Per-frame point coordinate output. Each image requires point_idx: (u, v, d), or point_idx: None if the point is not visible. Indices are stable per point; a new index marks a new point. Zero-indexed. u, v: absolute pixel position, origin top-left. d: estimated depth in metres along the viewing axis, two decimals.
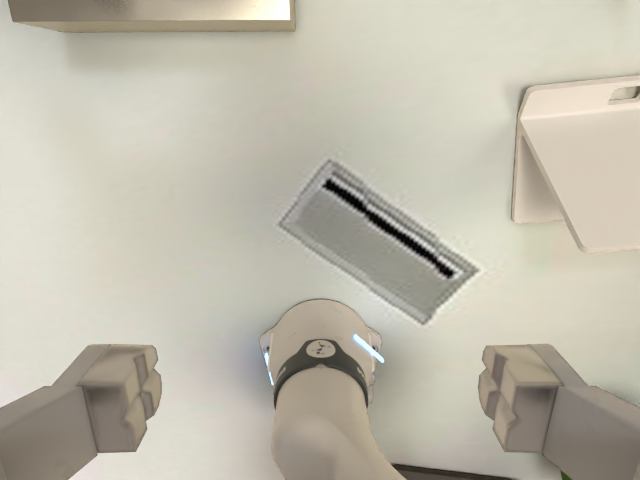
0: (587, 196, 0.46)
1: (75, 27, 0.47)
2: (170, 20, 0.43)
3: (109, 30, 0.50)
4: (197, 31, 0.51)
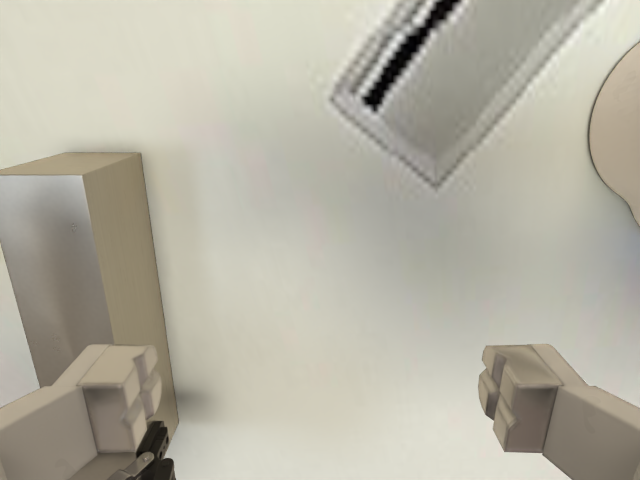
0: None
1: None
2: (114, 341, 0.30)
3: (166, 383, 0.41)
4: (158, 283, 0.39)
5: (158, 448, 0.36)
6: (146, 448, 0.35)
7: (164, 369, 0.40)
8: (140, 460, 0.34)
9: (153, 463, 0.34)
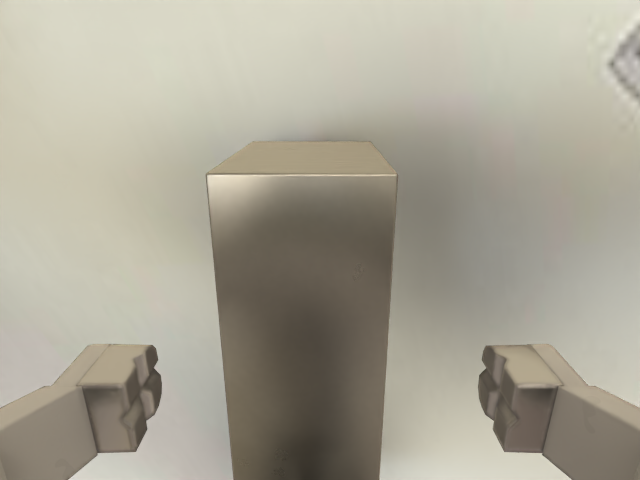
0: None
1: None
2: (378, 460, 0.18)
3: None
4: None
5: None
6: None
7: None
8: None
9: None
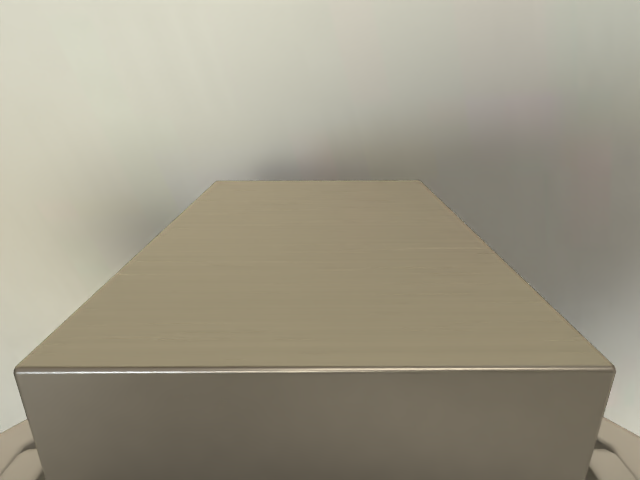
0: None
1: None
2: None
3: None
4: None
5: None
6: None
7: None
8: None
9: None
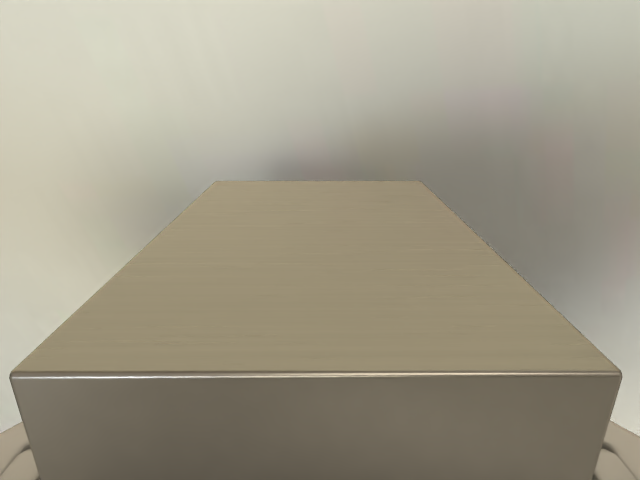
0: None
1: None
2: None
3: None
4: None
5: None
6: None
7: None
8: None
9: None
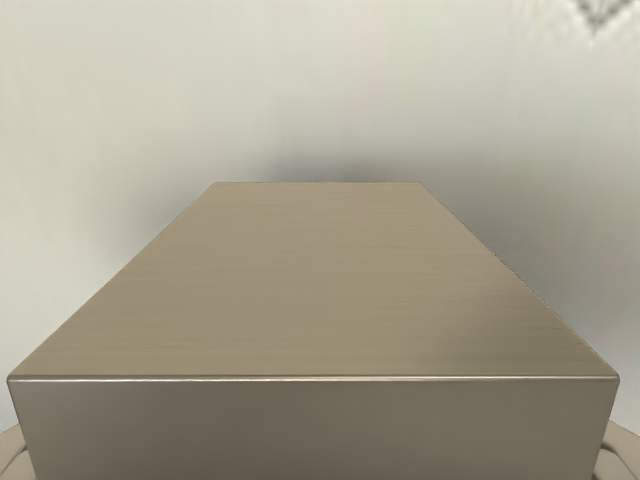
0: None
1: None
2: None
3: None
4: None
5: None
6: None
7: None
8: None
9: None
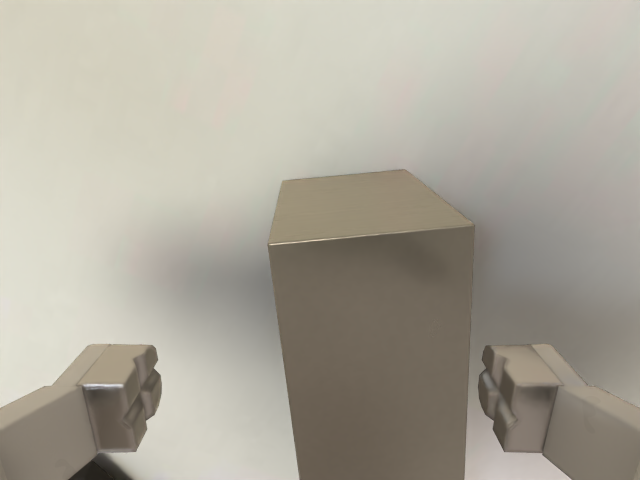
0: None
1: None
2: None
3: None
4: None
5: None
6: None
7: None
8: None
9: None
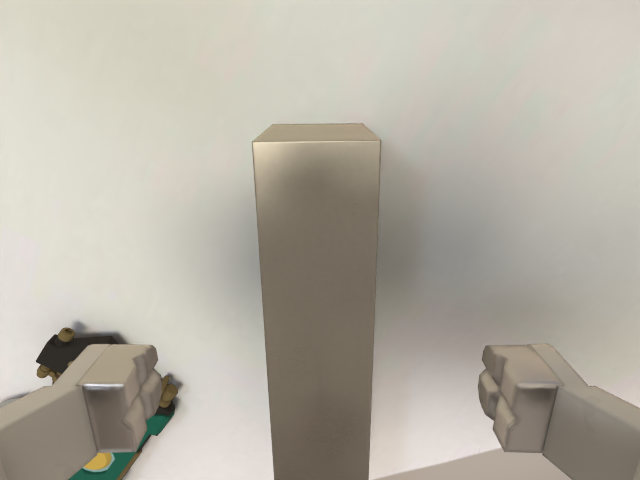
0: None
1: None
2: (372, 351, 0.25)
3: None
4: None
5: None
6: None
7: None
8: None
9: None
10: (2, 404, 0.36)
